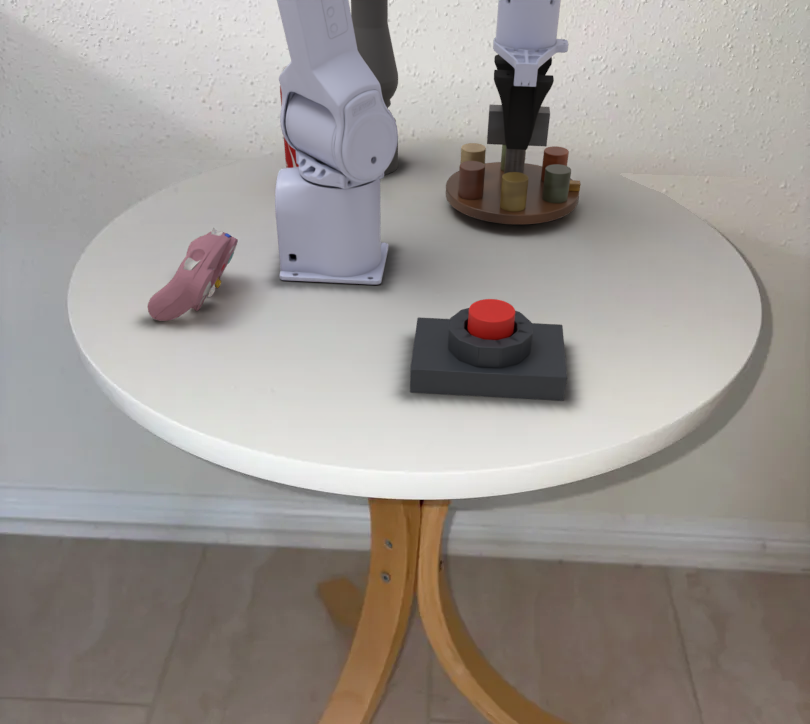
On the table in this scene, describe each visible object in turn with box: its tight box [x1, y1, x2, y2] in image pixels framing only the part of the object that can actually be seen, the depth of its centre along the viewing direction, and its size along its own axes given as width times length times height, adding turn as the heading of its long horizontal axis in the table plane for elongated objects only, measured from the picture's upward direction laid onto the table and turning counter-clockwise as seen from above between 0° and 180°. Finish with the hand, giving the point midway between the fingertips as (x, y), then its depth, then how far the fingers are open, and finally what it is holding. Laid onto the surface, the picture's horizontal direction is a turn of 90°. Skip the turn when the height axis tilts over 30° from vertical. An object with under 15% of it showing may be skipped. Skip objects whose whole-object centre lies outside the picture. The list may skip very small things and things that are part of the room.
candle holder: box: [350, 0, 399, 176], centre depth 97 cm, size 6×6×25 cm
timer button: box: [468, 298, 516, 340], centre depth 71 cm, size 4×4×2 cm
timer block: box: [409, 307, 568, 402], centre depth 72 cm, size 12×8×4 cm, turn 85°
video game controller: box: [147, 227, 239, 322], centre depth 80 cm, size 10×5×7 cm, turn 169°
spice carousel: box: [445, 104, 582, 225], centre depth 93 cm, size 14×14×9 cm
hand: (516, 140), depth 92 cm, fingers open, 3 cm apart
